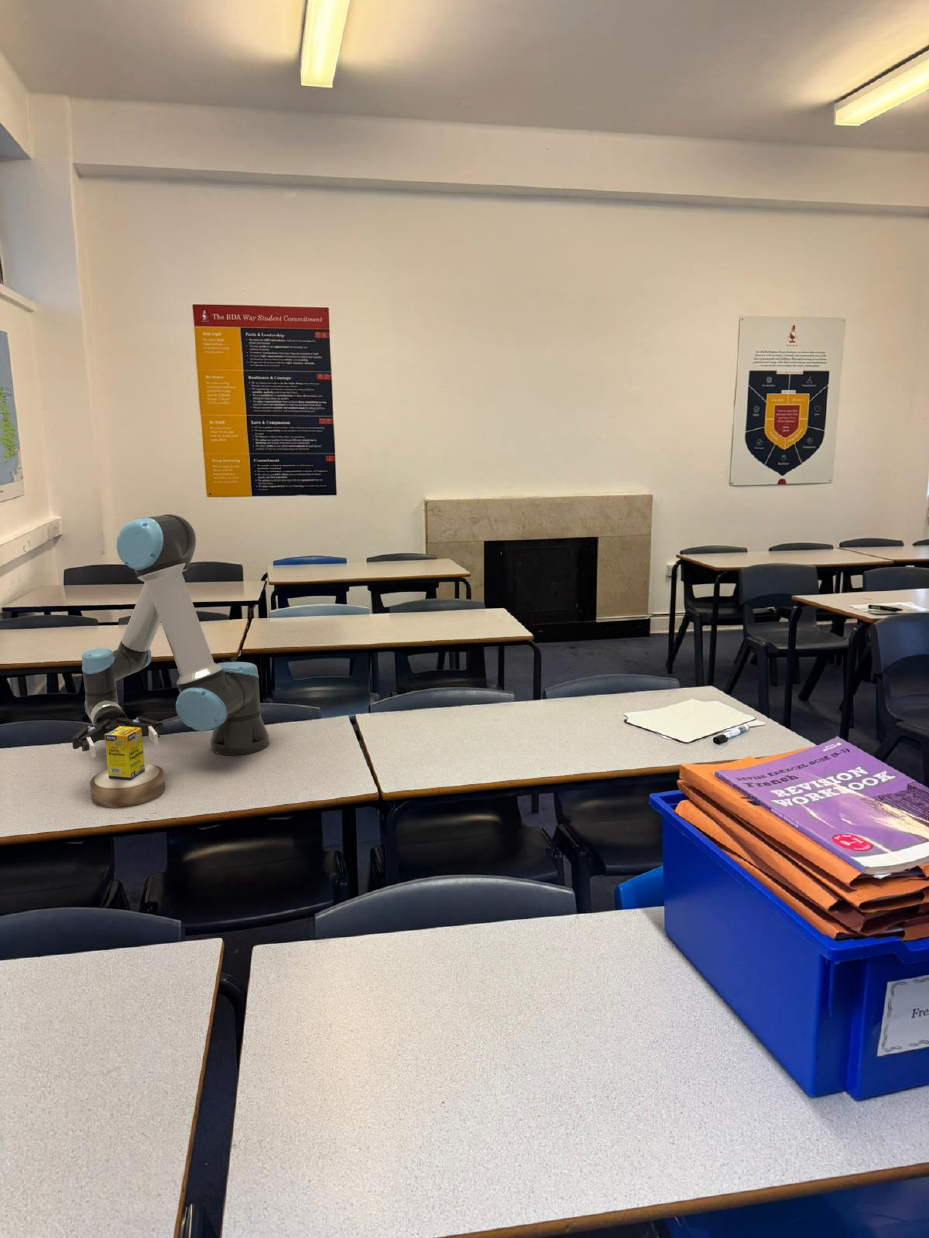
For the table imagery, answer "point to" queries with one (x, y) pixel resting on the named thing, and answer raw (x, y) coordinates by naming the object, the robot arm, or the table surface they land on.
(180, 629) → the robot arm
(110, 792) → the podium
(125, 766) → the supplement box
